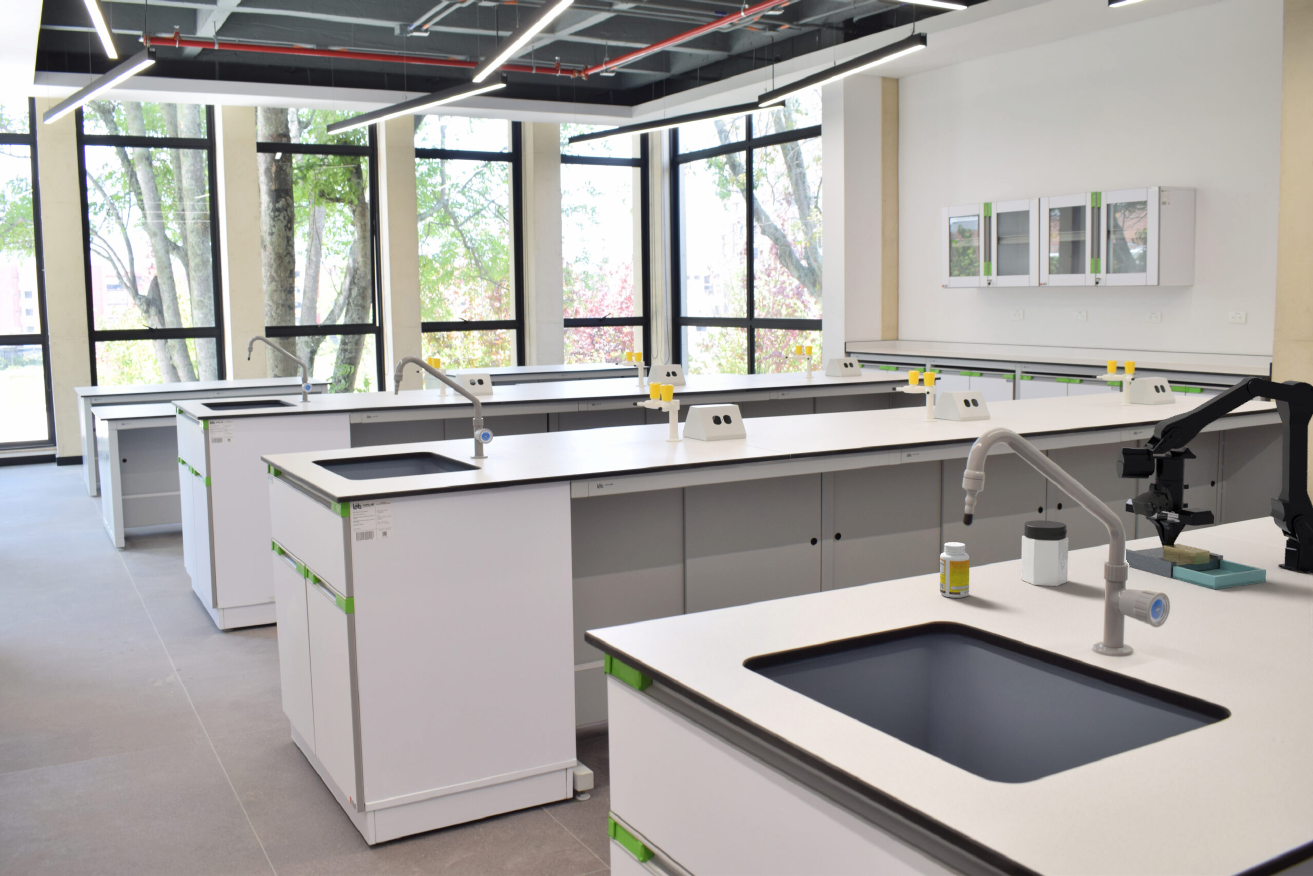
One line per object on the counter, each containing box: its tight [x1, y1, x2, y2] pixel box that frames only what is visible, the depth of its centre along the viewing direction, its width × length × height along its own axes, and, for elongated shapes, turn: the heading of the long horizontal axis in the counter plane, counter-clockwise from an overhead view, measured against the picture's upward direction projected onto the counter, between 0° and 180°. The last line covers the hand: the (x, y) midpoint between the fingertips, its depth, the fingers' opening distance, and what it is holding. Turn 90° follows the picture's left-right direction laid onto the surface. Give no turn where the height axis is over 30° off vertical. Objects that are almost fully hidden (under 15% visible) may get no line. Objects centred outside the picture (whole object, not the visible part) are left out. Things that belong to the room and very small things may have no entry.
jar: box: [1020, 519, 1069, 587], centre depth 214 cm, size 9×8×12 cm
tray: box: [1172, 559, 1267, 591], centre depth 213 cm, size 14×10×2 cm
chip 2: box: [1179, 546, 1211, 565], centre depth 218 cm, size 4×4×2 cm
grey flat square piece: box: [1125, 546, 1224, 579], centre depth 224 cm, size 14×14×3 cm
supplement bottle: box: [939, 541, 970, 599], centre depth 205 cm, size 6×6×10 cm
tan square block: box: [1163, 543, 1193, 561], centre depth 222 cm, size 4×4×2 cm
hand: (1166, 550), depth 225 cm, fingers closed
